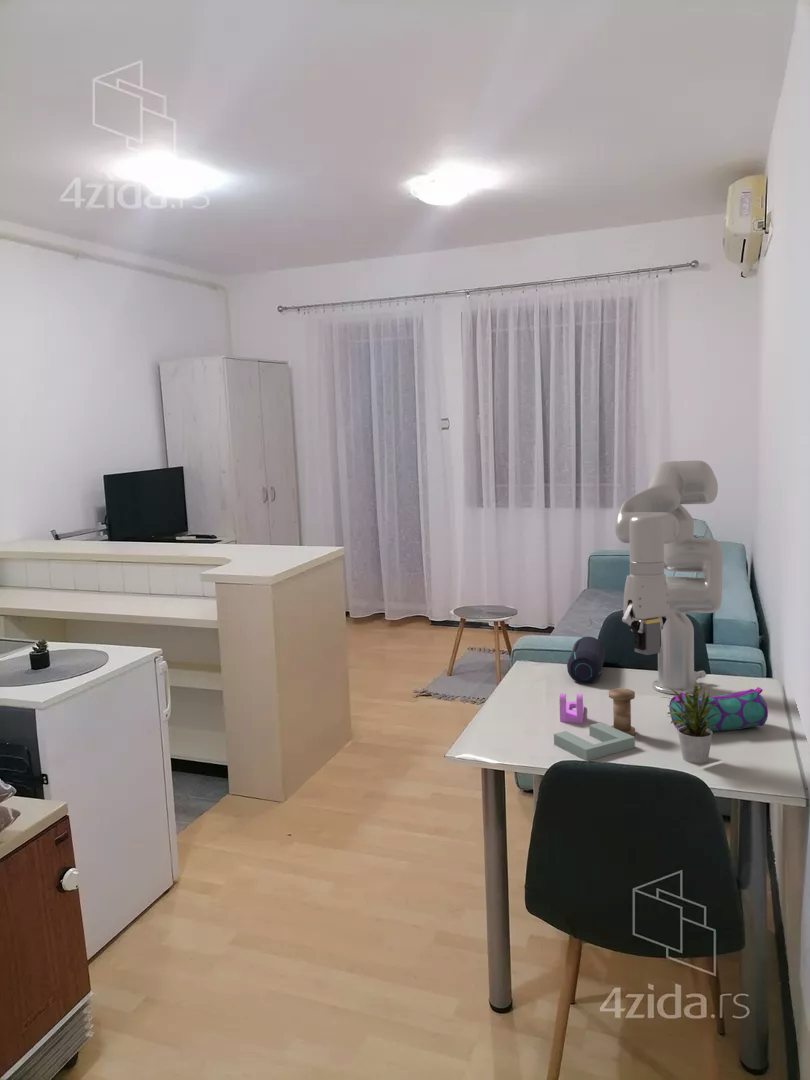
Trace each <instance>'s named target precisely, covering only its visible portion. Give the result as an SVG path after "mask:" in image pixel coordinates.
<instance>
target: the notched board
mask: <svg viewBox="0 0 810 1080" xmlns="http://www.w3.org/2000/svg"><path fill="white" fill-rule="evenodd" d="M610 726H611V725H608V724H605V723H603V722H601V721H600V722H597V723H592V724H589V726H588V727H589V733H588V734H589V736H591V737H593V738H595V739H597V740H599V741H601V742H599V743H595V744H594V743H592V742H590V741H588V740H586V739H584V738H581V737H580V736H578V735H576V734H573V733H571V732H569V731H567V730H565V731H561V732H557V733H553V745H555V746H557V747H558V748H560V749H562V750H565V751H567V752H568V753H571V754H572V755H574V756H576V757H578V758H580V759H582V760H584V761H586V760H588V761H591V760H594V759H598V758H603V757H605V756H609V755H614V754H615V753H616V754H617V753H620V752H624V751H627V750H631V749H634V748H636V740H635V739H636V737H635V735H634V736H631V735H629V734H627V733H624V732H622V731H620V730H617V729H615V728H613V727H610Z"/></svg>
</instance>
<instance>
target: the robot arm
mask: <svg viewBox="0 0 810 1080" xmlns="http://www.w3.org/2000/svg"><path fill="white" fill-rule="evenodd" d="M718 491H719V486H718V481H717V478H716V475H715V473H714V471H713V469H712V467H711V466H710V465H709V464H708V463H707V462H705V461H703V460H680V461H679V460H677V461H676V460H672V461H665V462H662V463H660V464H658V465H657V466H656V467H655V468H654V470H653V471H652V476H651V477H650V481H649V484H648V486H647V488H646V489H644V490H642V491H640V492H639V493H636V494H634V495H632V496H631V497H629V498H628V499H626V500H625V501H624V502H623V503H622V505H621V507H620V509H619V511H618V514H617V517H616V520H615V531H614V532H615V536H616V537H617V540H619V541H620V543H621V542H622V543H624V544H629V574H628V575H626V580H625V584H624V591H623V609H622V611H623V616H622V618H621V621H622V622H623V624H626V625H627V626H628V627H629V629H630V631H631V632H633V649H635V648H636V649H640V650H645V633H643V630H644V622H645V619H652V618H660V653H657V679H655V680H653V682H652V683H651V684H652V688H653V689H654V690H656V691H657V692H660V693H663V694H668V695H676V694H675V692H674V691H676V692H677V693H684V692H687V693H688V695H689V694H692V695H693V692H694V686H695V683H697V686H698V689H699V688H700V687H701V684H699V682H697V681H698V680H699V679H702V678H706V676H707V673H706V672H705V670H699V671H695V639H694V638H695V631H694V630H695V628H694V625H693V623H692V621H691V619H690V618H689V617H688V616H687V615H686V613H702V614H711V613H716V612H717V611H719V610H720V608H721V606H722V601H723V599H722V597H723V549H722V546H721V543H720V542H719V541H718V540H716V539H714V538H711V537H710V538H709V537H694V536H695V535H694V533H695V532H694V529H695V526H694V525H695V520H694V518H693V517H692V515H691V513H690V512H689V511H688V510H687V508H685V507H684V506H683V505H709V504H712V503H713V502H714V501H715V500H716V499H717V497H718ZM665 570H666V571H669V572H678V573H679V572H680V573H696V574H697V573H698V574H699V573H700V574H702V575H703V576H704V577H697V576H696V577H695V576H666V573H665ZM638 621H639V625H638V624H637V622H638ZM664 686H665V687H664ZM667 687H668V688H667ZM669 688H671V689H673V690H674V691H672V690H671V689H669Z"/></svg>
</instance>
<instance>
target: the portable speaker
mask: <svg viewBox="0 0 810 1080" xmlns="http://www.w3.org/2000/svg"><path fill="white" fill-rule="evenodd" d="M569 655H570V656H569V657H568V660H567V664H566V669H567V673H568V675H569V677H570V678H571V679H572V680H573V681H575V682H576V683H579V684H584V685H590V684H593V683H595V682H596V681H597V680H598V679H599V678H600V677H601V675H602V671H603V666H604V663H605V662H604V661H605V657H606V649H605V646H604V644H603V643H602V642H601V641H600V640H599V639H598V638H597V637H593V636H582V637H581V638H578V640H576V642H574V644H573V646H572V650H571V652H570V654H569Z"/></svg>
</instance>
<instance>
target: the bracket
mask: <svg viewBox="0 0 810 1080" xmlns="http://www.w3.org/2000/svg"><path fill="white" fill-rule="evenodd" d="M583 695H584V694H583V693H576V700H574V701H573V700H569V701H567V693H561V692H560V693H559V722H562V723H563V722H564V723H579V724H580V723H581V724H582V723H584V714H585V713H584V712H585V704H584V697H583ZM570 708H575V709H574V710H572V709H570Z"/></svg>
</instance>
